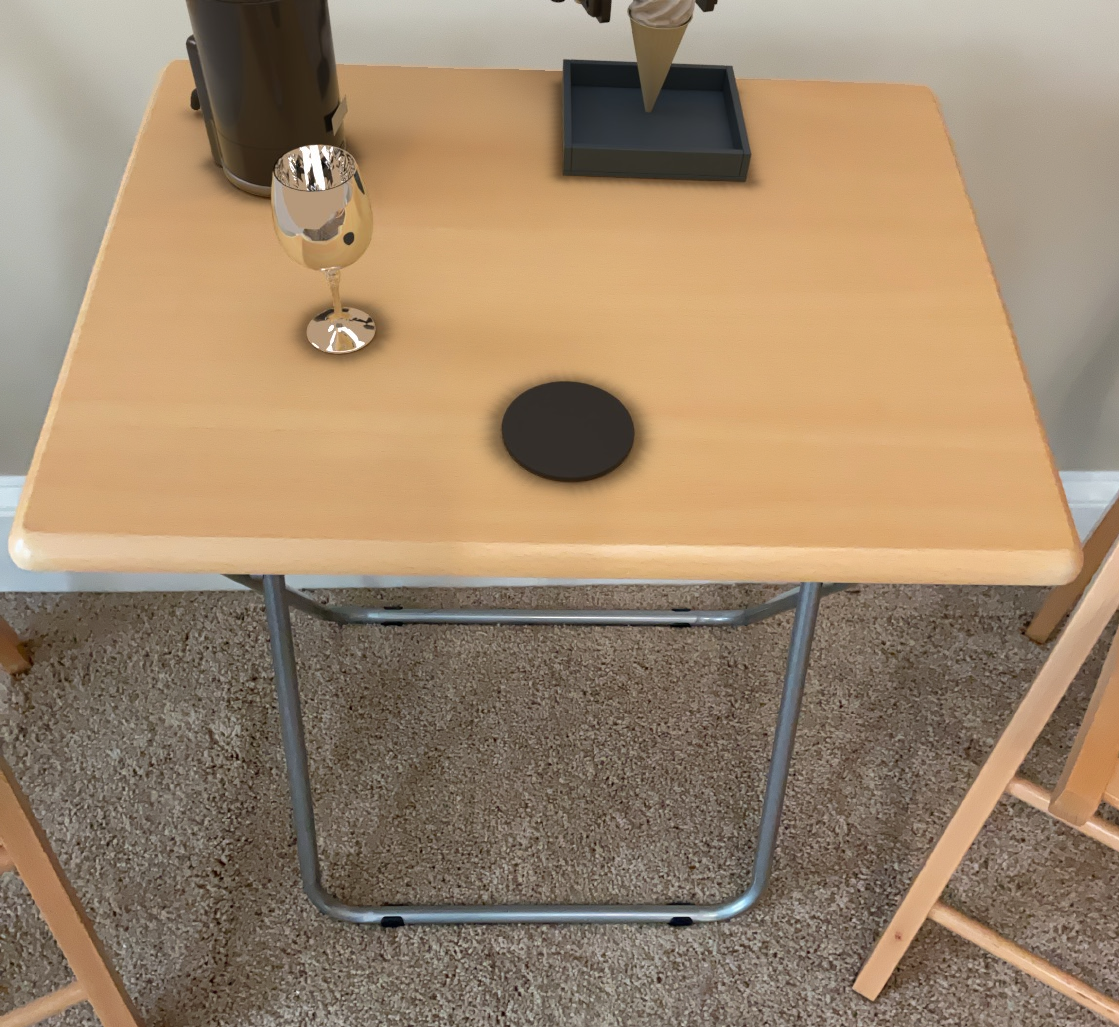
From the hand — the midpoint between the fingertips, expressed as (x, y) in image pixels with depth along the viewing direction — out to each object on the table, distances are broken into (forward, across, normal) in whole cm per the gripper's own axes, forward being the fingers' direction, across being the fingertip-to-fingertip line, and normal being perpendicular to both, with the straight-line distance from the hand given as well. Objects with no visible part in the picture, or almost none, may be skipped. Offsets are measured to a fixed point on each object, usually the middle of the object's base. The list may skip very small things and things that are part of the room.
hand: (660, 5), depth 79 cm
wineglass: (+20, -29, +9) cm, 36 cm away
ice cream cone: (0, 0, +9) cm, 9 cm away
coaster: (+32, -17, +9) cm, 38 cm away
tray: (+2, -1, +9) cm, 9 cm away
